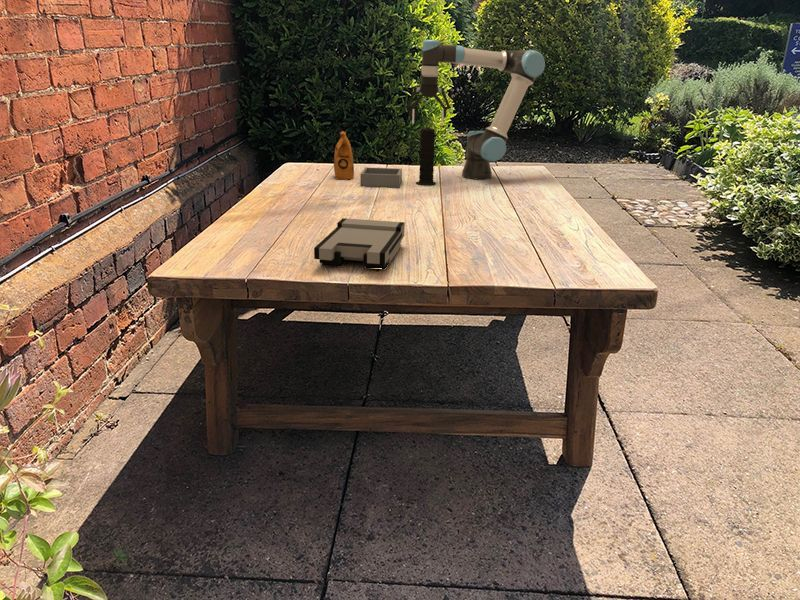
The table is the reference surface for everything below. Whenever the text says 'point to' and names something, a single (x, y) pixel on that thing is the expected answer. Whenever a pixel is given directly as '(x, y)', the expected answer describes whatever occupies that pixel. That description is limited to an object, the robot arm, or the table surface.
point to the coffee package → (343, 159)
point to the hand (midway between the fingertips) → (427, 124)
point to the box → (381, 177)
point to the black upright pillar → (427, 157)
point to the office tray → (361, 243)
